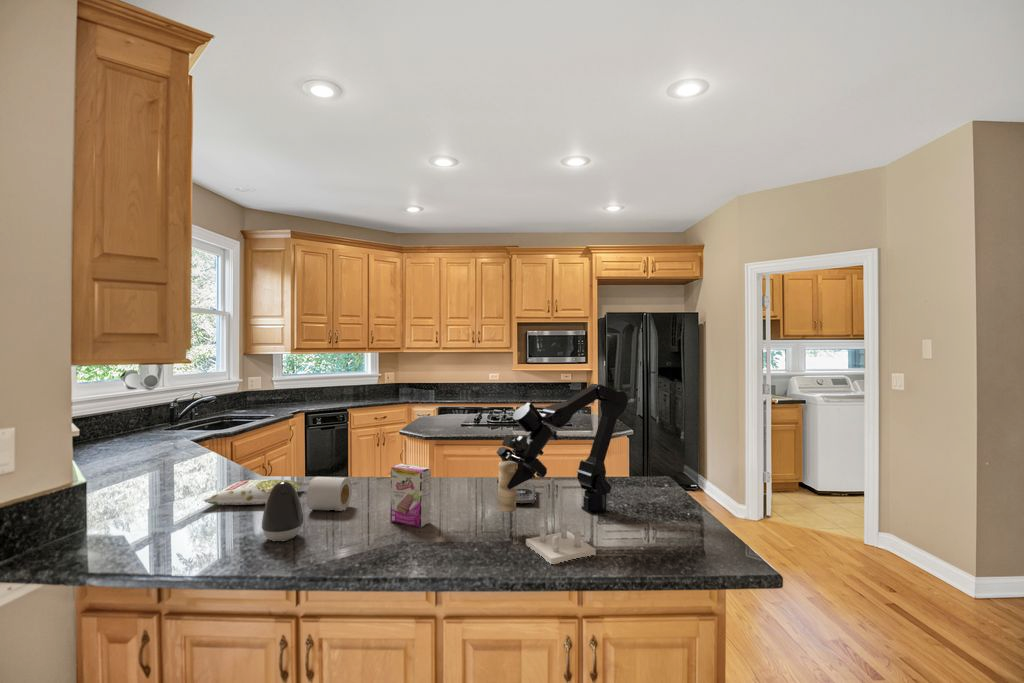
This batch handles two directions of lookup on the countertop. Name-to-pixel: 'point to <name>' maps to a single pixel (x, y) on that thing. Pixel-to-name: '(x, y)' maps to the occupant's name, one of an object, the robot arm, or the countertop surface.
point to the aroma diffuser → (282, 513)
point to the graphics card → (521, 493)
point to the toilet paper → (329, 493)
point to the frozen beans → (247, 492)
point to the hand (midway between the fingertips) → (503, 485)
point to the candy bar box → (410, 495)
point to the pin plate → (560, 545)
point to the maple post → (504, 494)
